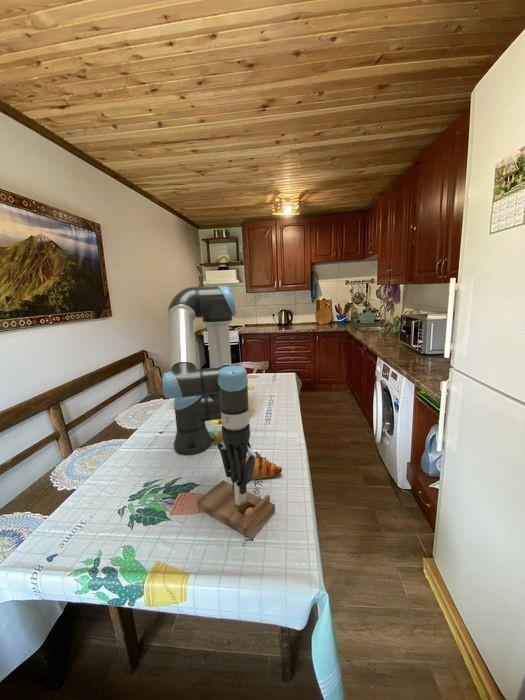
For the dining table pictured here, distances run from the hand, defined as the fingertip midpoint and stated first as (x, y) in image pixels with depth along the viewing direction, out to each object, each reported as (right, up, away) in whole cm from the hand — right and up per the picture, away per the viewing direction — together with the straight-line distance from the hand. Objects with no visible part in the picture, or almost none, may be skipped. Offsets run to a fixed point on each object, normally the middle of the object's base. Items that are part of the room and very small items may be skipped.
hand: (240, 501), depth 81 cm
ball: (+3, -2, -2) cm, 4 cm away
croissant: (+3, 0, +20) cm, 20 cm away
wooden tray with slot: (-2, -3, +2) cm, 4 cm away
